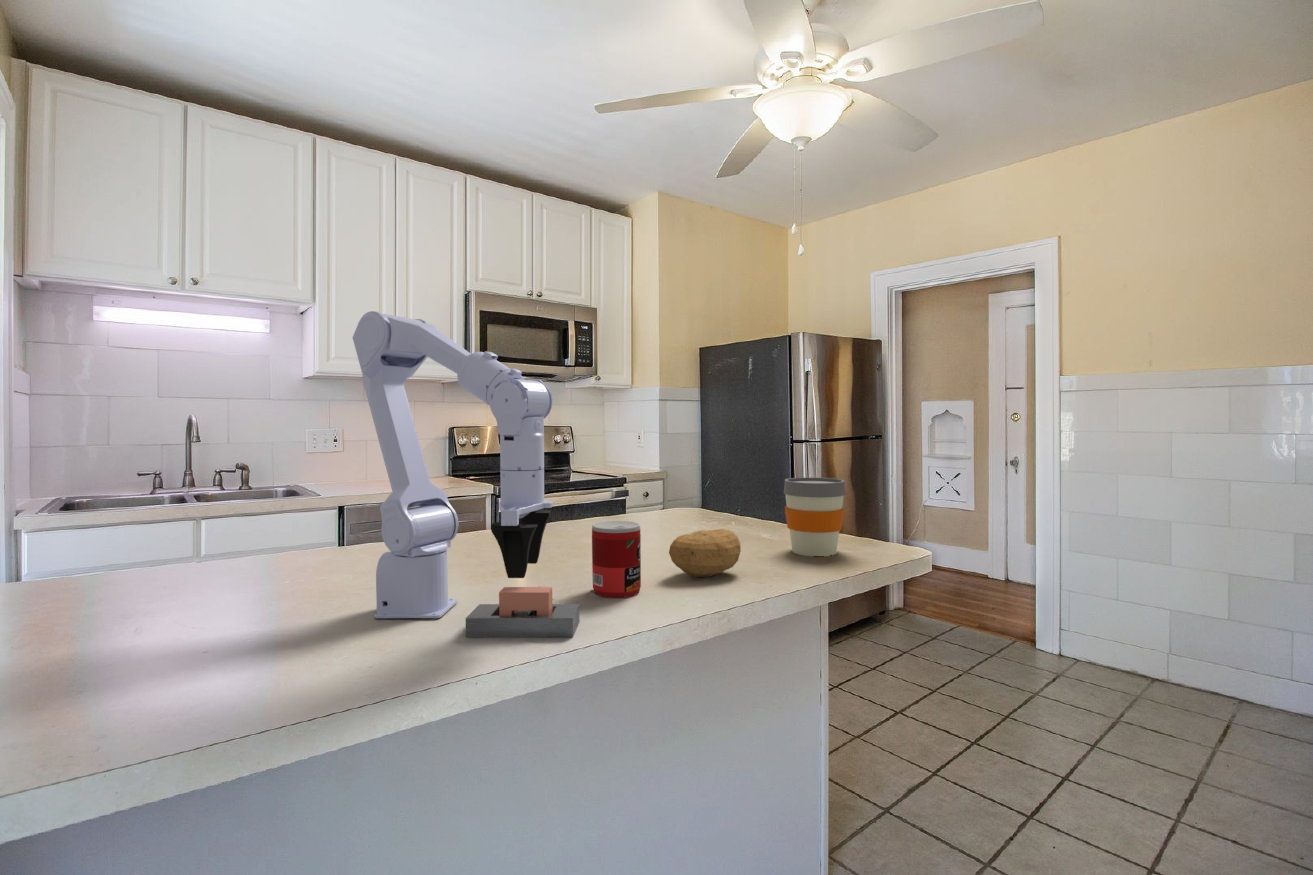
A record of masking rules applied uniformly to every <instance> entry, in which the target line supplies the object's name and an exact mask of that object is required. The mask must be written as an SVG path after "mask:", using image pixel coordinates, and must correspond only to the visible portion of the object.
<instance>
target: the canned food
mask: <svg viewBox="0 0 1313 875" xmlns="http://www.w3.org/2000/svg"><path fill="white" fill-rule="evenodd" d="M591 527H592V528H591V558H592V559H591V560H592V562H591V563H592V564H591V566H592V568H591V569H592V570H591V571H592V574H591V575H592V589H593V592H594V594H595V595H598V596H599V597H603V598H611V599H612V598H615V599H616V598H617V599H619V598H628V597H633V596H636V595H637V594H638V593H640V591H641V587H642V584H641V582H642V578H641V577H642V573H641V570H642V569H641V567H642V565H641V564H642V563H641V562H642V561H641V560H642V559H641V558H642V556H641V554H642V553H641V552H642V551H641V548H642V546H641V544H642V543H641V540H642V538H641V537H642V535H641V524H640V523H638V522H634V521H629V520H628V521H626V520H610V521H609V520H607V521H599V522H595V523H593V524H592V526H591Z"/></svg>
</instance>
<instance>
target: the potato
mask: <svg viewBox="0 0 1313 875" xmlns="http://www.w3.org/2000/svg"><path fill="white" fill-rule="evenodd" d="M741 547H742V546H741V541H740V539H739V537H738V535H736V534H735V533H734V531H732V530H730V529H726V528H720V529H718V528H717V529H709V530H708V529H705V530H704V529H701V530H697V531H692V532H690V533H686V534H681V535H679V536H677V537H676V538H674V539H673V541H672V542H671V544H670V546H669V550H668V554H669V556H670V560H671V563H673V564H674V565H675V567H677V568H679V569H680V570H681V571H682V572H683V573H685V574H686V575H688V576H691V577H694V578H695V577H696V578H708V577H713V576H715V575H716V576H717V574H720V573H723V572H725V571H727V570H730V569H731V568H734V566H735V565H736V564H737V563H738V561H739V558H740V555H741V552H742V551H741V550H742V549H741Z"/></svg>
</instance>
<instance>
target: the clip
mask: <svg viewBox="0 0 1313 875" xmlns="http://www.w3.org/2000/svg"><path fill="white" fill-rule="evenodd" d="M498 604H499V616H514V614H515V613H516V610H537V616H551V615H552V613H553V608H552V604H553V587H552V586H504V587H503V588H502V589H501V590H500V591H499V592H498Z"/></svg>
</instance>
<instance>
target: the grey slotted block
mask: <svg viewBox="0 0 1313 875" xmlns="http://www.w3.org/2000/svg"><path fill="white" fill-rule="evenodd" d="M552 608H553V613H552V615H551V616H537V610H516V613H515V614H514V616H499V603H488V604H487V603H483V604H482V603H479V604H478V605H477V606H476V607H475V608H474V609H473V610H472V611H471V612H470V613H469V614H468V615H467V616H466V617H465V638H573V637H574V636H575V633H576V631H577V629H578V627H579V624H580V615H581V614H580V603H552Z"/></svg>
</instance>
